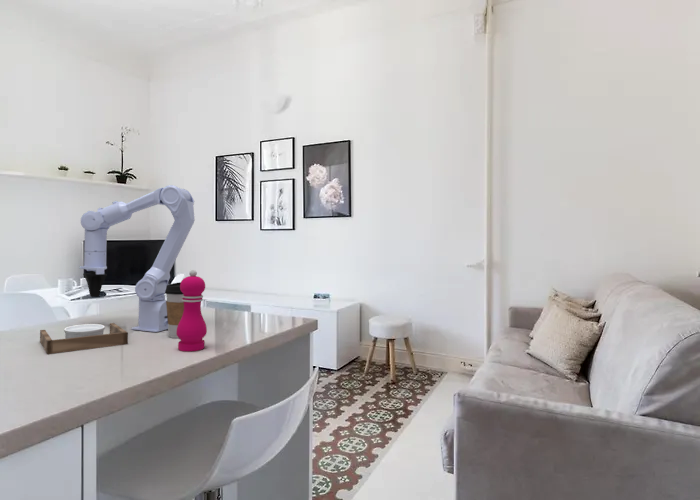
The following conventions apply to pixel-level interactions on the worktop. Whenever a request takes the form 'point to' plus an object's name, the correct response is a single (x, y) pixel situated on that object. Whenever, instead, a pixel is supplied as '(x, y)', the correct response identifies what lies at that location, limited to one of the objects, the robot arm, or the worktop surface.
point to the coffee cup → (174, 307)
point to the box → (84, 341)
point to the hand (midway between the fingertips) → (94, 296)
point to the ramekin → (84, 330)
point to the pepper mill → (192, 314)
